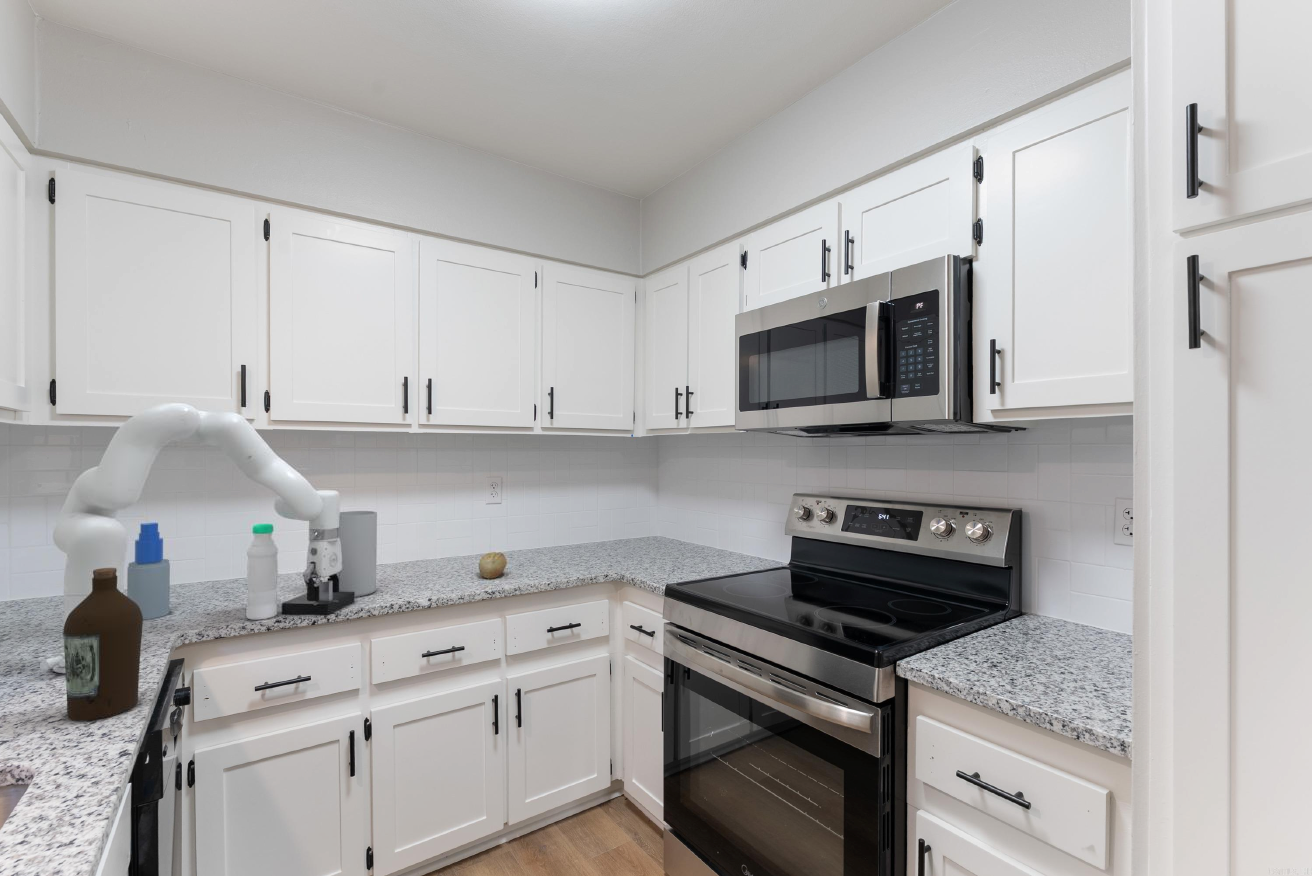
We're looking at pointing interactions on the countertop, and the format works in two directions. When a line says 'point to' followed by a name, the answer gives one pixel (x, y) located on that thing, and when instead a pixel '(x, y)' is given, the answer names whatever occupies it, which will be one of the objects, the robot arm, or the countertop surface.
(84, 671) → the olive oil
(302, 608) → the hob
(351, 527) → the cylinder vase
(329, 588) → the knob
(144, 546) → the spray bottle
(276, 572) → the water bottle
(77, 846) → the countertop surface
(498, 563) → the bread roll
